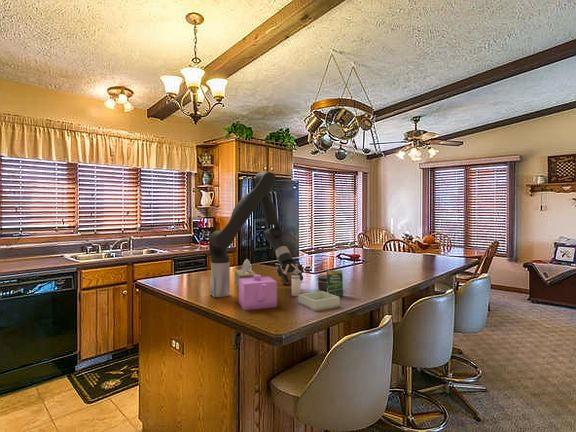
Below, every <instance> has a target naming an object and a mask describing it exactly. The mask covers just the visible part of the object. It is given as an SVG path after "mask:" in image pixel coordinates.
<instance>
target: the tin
mask: <svg viewBox="0 0 576 432" xmlns="http://www.w3.org/2000/svg"><path fill="white" fill-rule="evenodd" d="M295 270H296V269H295ZM283 272H284V270H282V273H283ZM297 272H298V271H297ZM298 273H299V272H298ZM286 275H287V277H288V279H289V282H288V283H286V282H285V280H284V278H283V277H282V276H280V281H281V284H283V285H291V276H292V275H297V274H296V273H294V272H289V273H287V272H286Z"/></svg>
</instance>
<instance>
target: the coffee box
mask: <svg viewBox="0 0 576 432" xmlns="http://www.w3.org/2000/svg"><path fill="white" fill-rule="evenodd" d="M326 275H327V292H326V293H329V294H332V295H335V296H338V297H340V298H341V297H344V287H343V286H344V285H343V282H344V281H343V277H344V276H343V270H341V269H339V270H326Z"/></svg>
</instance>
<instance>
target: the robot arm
mask: <svg viewBox="0 0 576 432" xmlns="http://www.w3.org/2000/svg"><path fill="white" fill-rule="evenodd" d="M276 179H277V178H276V174H274V173H273V172H272V171H260V172H258V173H256V174H255V176H254V184H255V187H254V188H253V189H252V190H250V192H248V193H246V194H245V195H244V196H242V198H241V199H240V200H239V201H238V202H237V204H236V205H235V206H234V208H233V209H232V212H231V216H230V218H229V221H228V223H227V224H226V225H225V226H224V227H223V228H222V230H215V231H213V232H212V233H211V234H210V236H209V240H208V245H209V249H208V250H209V257H210V266H211V267H210V272H211V275H210V276H209V295H210V296H211V295H212V296H213V297H212V296H211V297H212V298H224V297H225V298H226V297H229V296H230V291H231V290H230V256H229V255H228V252H227V249H228V248H229V247H231V245H232V243H233V242H234V240H235V239H236V236H237V234H238V233H239V231H240V230H241V229H242V228H243V226H244V224H245V223H246V222H247V220H248V219H249V218H250V217H251V215H252V214H253V212H255V209H256V208H257V207H258V205H259V203H260V202H261V205H262V209H263V215H264V218H265V220H264V221H265V224H266V225H268V226H274V227H271V228H268V229H266V230H265V232H264V238H265V239H266V241H267V242H268V243H269V244H270V245H271V246H272V248H273V250H274V252H275V256H276V259H277V261H278V262H279V264H277V266H276V267H275V269H276V271H277V275H278V276H279V277H281V276H282V277H283V278H284V280H285V282H286V283H288V282H289V279H288V277H287V275H286V272H287V273H289V272H294V273H296V274H297V275H300V282H302V281H303V280H304V276H303V273H304V272H305V270H304V269H303V267H302V265H301V262H297V263H295V262H294V259H293V256H292V254H291V252H290V250H289V248H288V246H287V244H286V243H285V240H284V239H282V238H283V237H284V231H283V229H282V227H281V224H280V222H279V218H278V214H277V209H276V206H275V204H274V202H273V200H272V198H271V196H270V193H269V192H270V190H271V189H272V188H273V187H274V186H275V184H276ZM295 269H296V270H295ZM283 271H284V272H283ZM297 271H298V272H297ZM282 272H283V273H282Z"/></svg>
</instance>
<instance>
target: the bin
mask: <svg viewBox="0 0 576 432" xmlns="http://www.w3.org/2000/svg"><path fill="white" fill-rule="evenodd" d="M297 298H298V299H297V301H298V305H300V306H302V307H304V308H306V309H308V310H310V311H313V312H318V311H320V312H321V311H323V310H324V311H325V310H330V309H335V308H339V307H341V306H340V304H341V303H340V302H341V301H340V299H341V296H340V297H339V296H335V295H332V294H329V293H327V292H324V291H319V290H318V291H314V292H313V291H311V292H306V293H300V294H298V296H297Z"/></svg>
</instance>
